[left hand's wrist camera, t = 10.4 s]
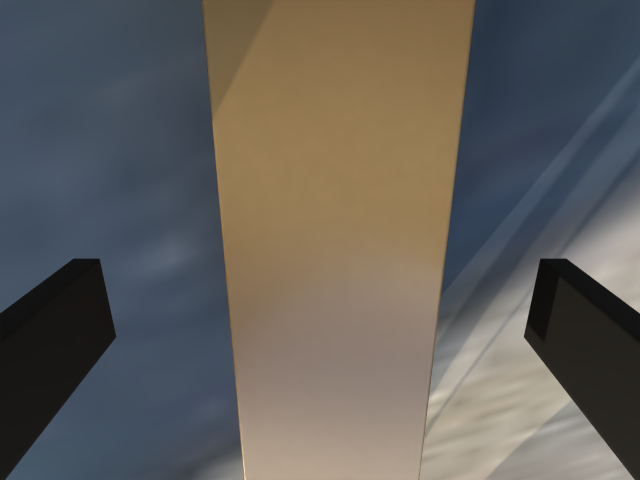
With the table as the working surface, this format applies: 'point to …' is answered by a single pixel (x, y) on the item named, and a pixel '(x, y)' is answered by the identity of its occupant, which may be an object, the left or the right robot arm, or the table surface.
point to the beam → (335, 222)
